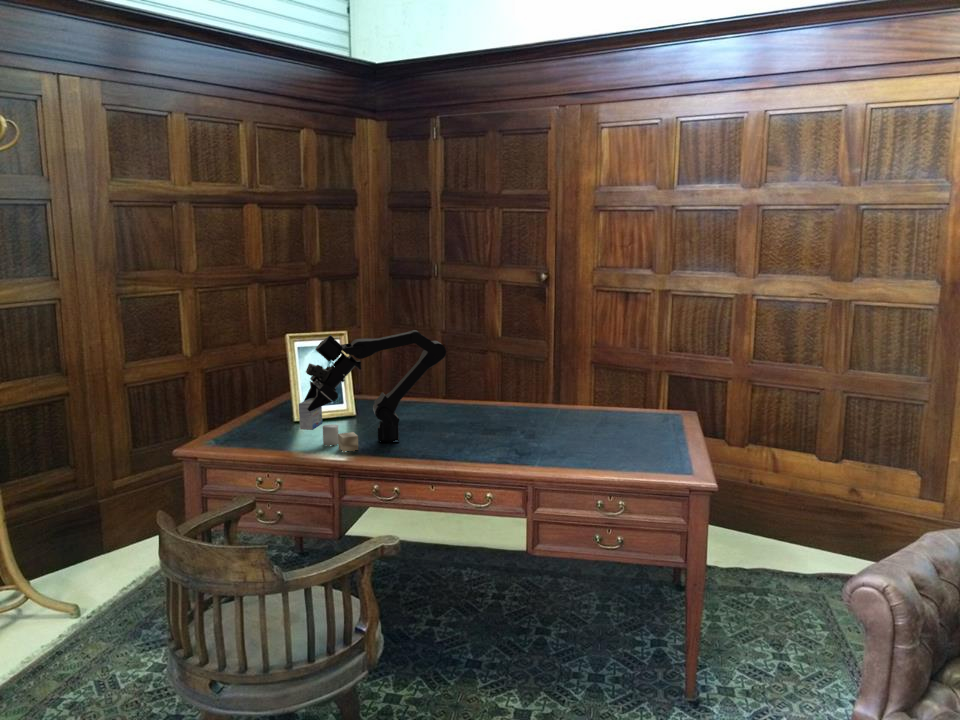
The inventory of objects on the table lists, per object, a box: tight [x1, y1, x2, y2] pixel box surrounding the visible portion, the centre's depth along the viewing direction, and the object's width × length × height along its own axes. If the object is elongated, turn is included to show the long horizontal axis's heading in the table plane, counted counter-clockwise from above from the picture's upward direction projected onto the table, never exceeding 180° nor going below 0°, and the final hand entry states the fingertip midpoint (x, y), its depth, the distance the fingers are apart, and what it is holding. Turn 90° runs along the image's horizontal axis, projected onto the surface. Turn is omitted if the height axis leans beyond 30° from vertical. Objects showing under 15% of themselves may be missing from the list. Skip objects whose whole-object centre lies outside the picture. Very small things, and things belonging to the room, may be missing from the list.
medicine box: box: [298, 398, 323, 431], centre depth 255 cm, size 8×4×9 cm, turn 167°
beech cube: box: [338, 431, 359, 453], centre depth 254 cm, size 5×5×5 cm
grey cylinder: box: [322, 423, 339, 447], centre depth 260 cm, size 5×5×6 cm
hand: (306, 407), depth 254 cm, fingers closed on medicine box, 9 cm apart
